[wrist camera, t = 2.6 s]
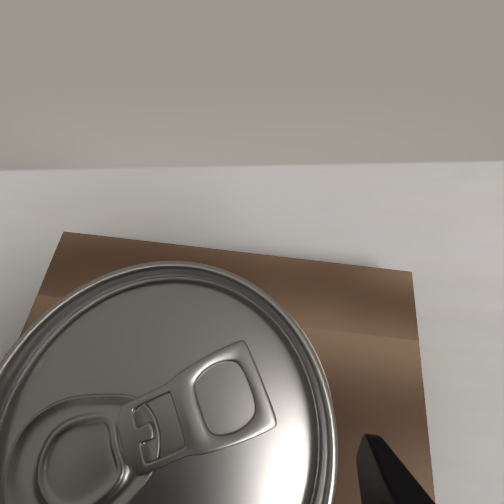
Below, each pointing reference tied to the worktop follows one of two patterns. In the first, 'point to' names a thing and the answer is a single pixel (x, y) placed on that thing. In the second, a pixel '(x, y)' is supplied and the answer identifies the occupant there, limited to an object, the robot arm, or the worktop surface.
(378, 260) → the worktop surface
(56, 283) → the socket block
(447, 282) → the worktop surface
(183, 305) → the can
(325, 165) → the worktop surface
